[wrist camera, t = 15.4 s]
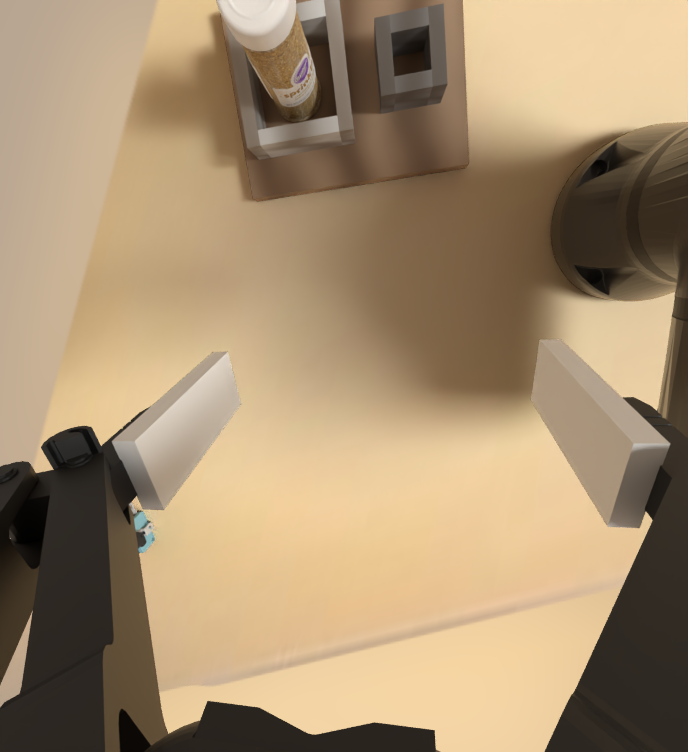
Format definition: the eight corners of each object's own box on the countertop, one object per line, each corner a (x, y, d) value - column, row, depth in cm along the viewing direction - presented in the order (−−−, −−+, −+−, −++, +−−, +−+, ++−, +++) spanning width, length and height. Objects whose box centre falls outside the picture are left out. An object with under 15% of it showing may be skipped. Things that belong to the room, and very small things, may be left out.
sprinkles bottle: (312, 131, 35) (275, 46, 22) (267, 113, 35) (203, 16, 22) (329, 77, 34) (300, -47, 21) (283, 58, 33) (224, -79, 21)
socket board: (456, -36, 32) (471, -92, 27) (465, 168, 36) (479, 151, 31) (225, 15, 34) (200, -27, 29) (257, 201, 38) (240, 190, 33)
